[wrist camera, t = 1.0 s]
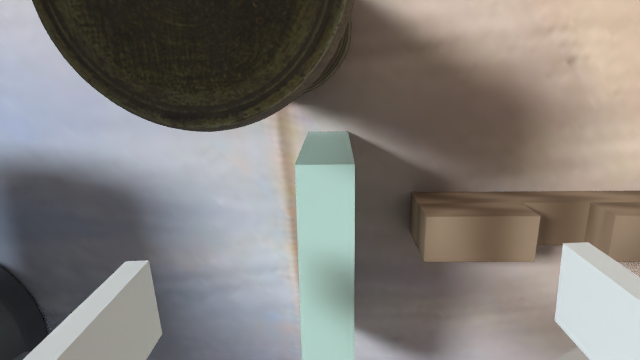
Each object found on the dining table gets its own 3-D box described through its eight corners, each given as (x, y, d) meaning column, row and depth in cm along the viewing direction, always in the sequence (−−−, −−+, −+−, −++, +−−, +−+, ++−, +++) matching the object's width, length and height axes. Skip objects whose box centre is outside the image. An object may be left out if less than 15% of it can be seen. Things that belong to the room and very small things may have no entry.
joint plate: (348, 307, 32) (353, 409, 23) (312, 307, 32) (303, 408, 23) (348, 131, 29) (354, 164, 19) (308, 132, 29) (294, 164, 19)
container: (369, 63, 27) (429, 57, 10) (250, 116, 29) (120, 193, 11) (316, -75, 25) (276, -382, 8) (189, -11, 27) (-83, -158, 9)
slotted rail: (409, 230, 30) (424, 261, 26) (411, 192, 30) (426, 216, 25) (658, 230, 30) (721, 261, 25) (667, 190, 29) (733, 215, 24)
